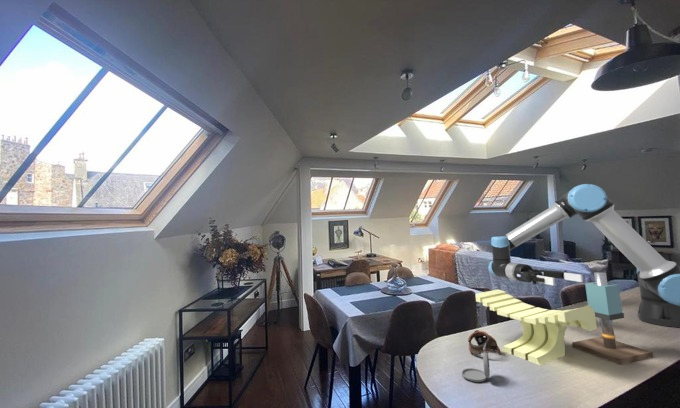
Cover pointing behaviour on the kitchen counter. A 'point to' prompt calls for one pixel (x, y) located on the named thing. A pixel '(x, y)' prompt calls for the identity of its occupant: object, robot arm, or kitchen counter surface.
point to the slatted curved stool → (537, 326)
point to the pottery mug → (482, 342)
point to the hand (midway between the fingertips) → (568, 280)
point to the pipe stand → (610, 340)
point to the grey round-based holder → (478, 374)
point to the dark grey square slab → (609, 316)
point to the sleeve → (604, 298)
